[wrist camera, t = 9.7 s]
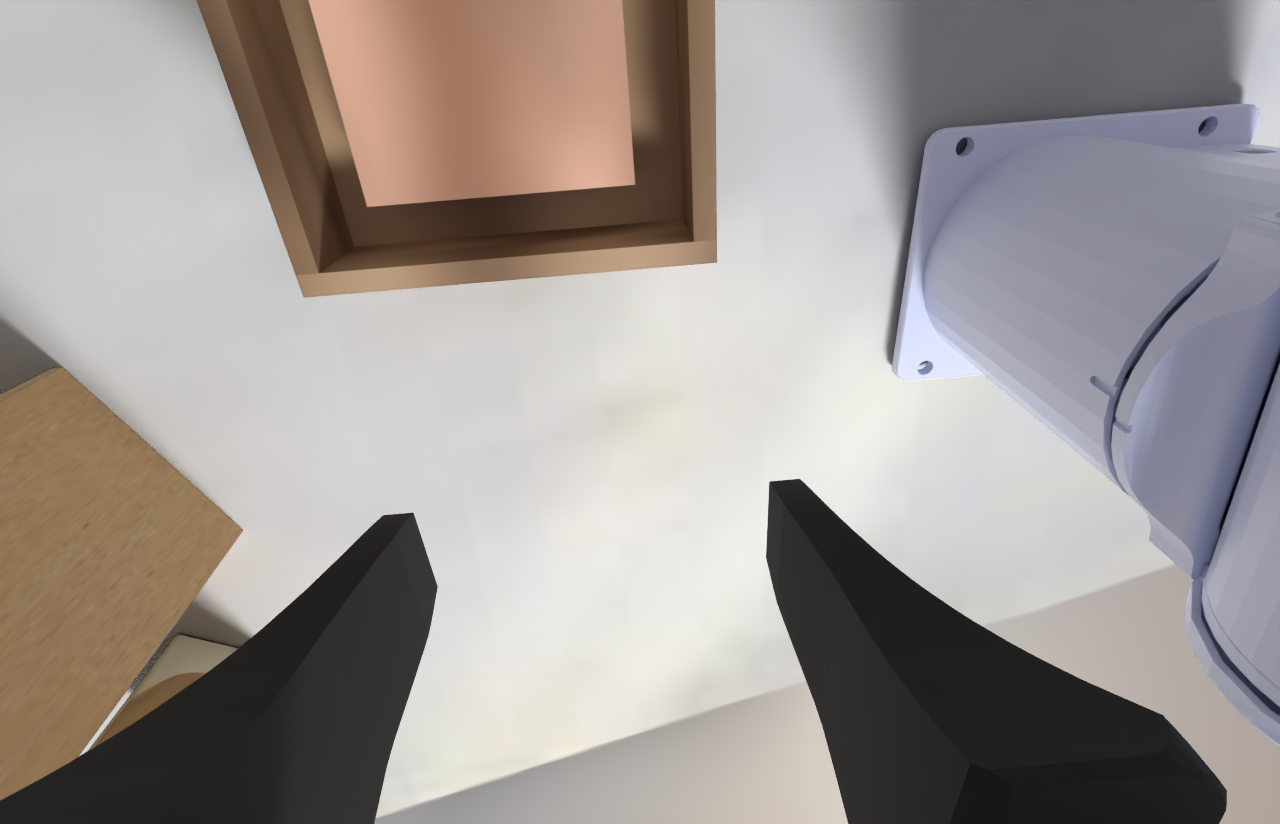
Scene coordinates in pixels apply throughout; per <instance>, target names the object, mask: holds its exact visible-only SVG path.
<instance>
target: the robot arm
mask: <svg viewBox="0 0 1280 824" xmlns="http://www.w3.org/2000/svg"><path fill="white" fill-rule="evenodd" d="M1259 117H1260V113H1259V109H1258V108H1257V107H1256V106H1255V105H1250V104H1228V105H1216V106H1204V107H1192V108H1180V109H1168V110H1156V111H1144V112H1132V113H1120V114H1108V115H1096V116H1084V117H1072V118H1060V119H1047V120H1035V121H1023V122H1011V123H999V124H987V125H975V126H963V127H951V128H943V129H940V130H937V131H936V132H935V133H933V134H932V135H931V136H930V138H929V139H928V140H927V143H926V146H925V149H924V156H923V163H922V169H921V176H920V183H919V190H918V196H917V203H916V210H915V216H914V223H913V230H912V236H911V243H910V250H909V256H908V263H907V270H906V276H905V283H904V290H903V297H902V303H901V310H900V317H899V323H898V330H897V337H896V343H895V350H894V357H893V363H892V371H893V372H894V374H895V375H896V376H897V377H898V379H900V380H902V381H919V380H930V379H942V378H953V377H965V376H977V375H985V376H986V377H987V378H989V379H990V380H991V381H992V382H993V383H995V384H996V385H997V386H998V387H999V388H1001V389H1002V390H1003V391H1004V392H1005V393H1007V394H1008V395H1009V396H1010V397H1011V398H1013V399H1014V400H1015V401H1016V402H1017V403H1019V404H1020V405H1021V406H1022V407H1023V408H1025V409H1026V410H1027V411H1028V412H1029V413H1031V414H1032V415H1033V416H1034V417H1035V418H1037V419H1038V420H1039V421H1040V422H1041V423H1043V424H1044V425H1045V426H1046V427H1047V428H1049V429H1050V430H1051V431H1052V432H1053V433H1055V434H1056V435H1057V436H1058V437H1059V438H1061V439H1062V440H1063V441H1064V442H1065V443H1067V444H1068V445H1069V446H1070V447H1071V448H1073V449H1074V450H1075V451H1076V452H1077V453H1079V454H1080V455H1081V456H1082V457H1083V458H1084V459H1086V460H1087V461H1088V462H1089V463H1090V464H1092V465H1093V466H1094V467H1095V468H1096V469H1098V470H1099V471H1100V472H1101V473H1102V474H1104V475H1105V476H1106V477H1107V478H1108V479H1110V480H1111V481H1112V482H1113V483H1114V484H1116V485H1117V486H1118V487H1119V488H1120V489H1122V490H1123V491H1124V492H1125V493H1127V494H1128V495H1129V496H1130V497H1131V498H1133V499H1134V500H1135V501H1136V502H1137V503H1138V504H1139V505H1140V506H1141V507H1142V508H1143V509H1144V511H1145V512H1146V513H1147V515H1148V517H1149V520H1150V525H1151V530H1150V537H1149V540H1150V542H1152V543H1153V544H1154V545H1155V546H1156V547H1157V548H1158V549H1159V550H1161V551H1162V552H1163V553H1164V554H1165V555H1166V556H1167V557H1168V558H1170V559H1171V560H1172V561H1173V562H1174V563H1175V564H1176V565H1177V566H1179V567H1180V568H1181V569H1182V570H1183V571H1184V572H1185V573H1187V574H1188V575H1189V576H1190V577H1191V578H1192V579H1195V580H1194V581H1193V582H1192V585H1191V588H1190V591H1189V594H1188V598H1187V603H1186V608H1185V620H1186V629H1187V635H1188V638H1189V641H1190V643H1191V646H1192V649H1193V652H1194V654H1195V656H1196V658H1197V660H1198V661H1199V663H1200V665H1201V666H1202V668H1203V670H1204V672H1205V673H1206V675H1207V677H1208V678H1209V679H1210V681H1211V682H1212V683H1213V684H1214V685H1215V687H1216V688H1217V689H1218V690H1219V691H1220V693H1221V694H1222V695H1223V697H1224V698H1225V699H1226V700H1227V701H1228V703H1229V704H1230V705H1231V706H1232V707H1234V708H1235V709H1236V710H1237V711H1238V712H1239V713H1240V714H1241V715H1242V716H1243V717H1244V718H1245V719H1246V720H1247V721H1248V722H1249V723H1250V724H1251V725H1252V726H1253V727H1254V728H1255V729H1257V730H1258V731H1259V732H1260V733H1262V734H1263V735H1264V736H1265V737H1267V738H1268V739H1269V740H1270V741H1272V742H1273V743H1274V744H1275V745H1277V746H1278V747H1279V748H1280V148H1276V147H1269V146H1261V145H1254V144H1250V142H1251V140H1252V137H1253V135H1254V132H1255V129H1256V127H1257V124H1258V122H1259ZM1205 119H1206V125H1205V126H1204V128H1203V130H1202V131H1201V132H1199V133H1198V130H1199V126H1200V124H1201V123H1202V122H1203V121H1204V120H1205ZM962 138H966V139H967V146H966V149H965V150H964V151H963V152H962V153H961V154H958V155H957V153H956V146H957V143H958V142H959V141H960V140H961V139H962ZM924 361H928V363H927V365H926V366H925V367H924V368H923V369H920V370H918V369H917V368H918V366H919V365H920V364H921V363H922V362H924ZM766 558H767V563H768V567H769V571H770V576H771V580H772V584H773V588H774V592H775V596H776V600H777V603H778V606H779V609H780V612H781V614H782V617H783V620H784V623H785V625H786V628H787V631H788V633H789V636H790V639H791V641H792V644H793V647H794V649H795V652H796V655H797V657H798V660H799V662H800V665H801V668H802V670H803V673H804V676H805V678H806V681H807V684H808V686H809V689H810V692H811V694H812V697H813V699H814V702H815V705H816V708H817V711H818V714H819V717H820V720H821V723H822V726H823V730H824V733H825V737H826V740H827V744H828V748H829V752H830V755H831V759H832V763H833V766H834V770H835V774H836V777H837V781H838V785H839V789H840V793H841V797H842V801H843V804H844V808H845V812H846V816H847V820H848V824H1219V822H1220V821H1221V819H1222V817H1223V815H1224V813H1225V811H1226V805H1227V790H1226V789H1225V788H1224V786H1223V785H1222V784H1221V782H1220V781H1219V779H1218V778H1217V777H1216V776H1215V774H1214V773H1213V772H1212V771H1211V770H1210V769H1209V767H1208V766H1207V765H1206V764H1205V762H1204V761H1203V760H1202V759H1201V758H1200V756H1199V755H1198V754H1197V753H1196V752H1195V750H1194V749H1193V748H1192V747H1191V746H1190V744H1189V743H1188V742H1187V741H1186V740H1185V739H1184V738H1183V737H1182V736H1181V734H1180V733H1179V732H1178V731H1177V730H1176V729H1175V728H1174V727H1173V726H1172V725H1171V724H1170V723H1169V721H1168V720H1166V719H1165V717H1164V716H1163V715H1161V714H1159V713H1156V712H1154V711H1152V710H1150V709H1147V708H1145V707H1143V706H1140V705H1138V704H1136V703H1134V702H1131V701H1129V700H1127V699H1124V698H1122V697H1120V696H1117V695H1115V694H1113V693H1111V692H1108V691H1106V690H1104V689H1101V688H1099V687H1097V686H1095V685H1092V684H1090V683H1088V682H1086V681H1084V680H1081V679H1079V678H1077V677H1075V676H1073V675H1071V674H1069V673H1067V672H1065V671H1063V670H1061V669H1059V668H1057V667H1055V666H1053V665H1051V664H1049V663H1047V662H1045V661H1043V660H1041V659H1039V658H1037V657H1035V656H1034V655H1032V654H1030V653H1028V652H1026V651H1024V650H1022V649H1021V648H1018V647H1017V646H1015V645H1013V644H1011V643H1010V642H1008V641H1006V640H1004V639H1003V638H1001V637H999V636H997V635H996V634H994V633H992V632H991V631H989V630H987V629H985V628H984V627H982V626H981V625H979V624H977V623H975V622H974V621H972V620H971V619H969V618H967V617H966V616H964V615H963V614H961V613H959V612H958V611H956V610H955V609H953V608H952V607H950V606H949V605H947V604H946V603H944V602H943V601H942V600H940V599H939V598H937V597H936V596H934V595H933V594H931V593H930V592H928V591H927V590H925V589H924V588H923V587H921V586H920V585H919V584H917V583H916V582H914V581H913V580H912V579H910V578H909V577H908V576H906V575H905V574H904V573H903V572H901V571H900V570H899V569H898V568H896V567H895V566H894V565H893V564H891V563H890V562H889V561H888V560H886V559H885V558H884V557H883V556H882V555H881V554H879V553H878V552H877V551H876V550H875V549H873V548H872V547H871V546H870V545H869V544H868V543H867V542H866V541H865V540H863V539H862V538H861V537H860V536H859V535H858V534H857V533H856V532H854V531H853V530H852V529H851V528H850V527H849V526H848V525H847V524H846V523H845V522H844V521H843V520H841V519H840V518H839V517H838V516H837V515H836V514H835V513H834V512H833V511H832V510H831V509H830V508H829V507H828V506H827V505H826V504H825V503H824V502H823V501H822V500H821V499H820V498H819V497H818V496H817V495H816V494H815V493H814V492H813V491H812V490H811V489H810V488H809V487H808V486H807V485H806V484H805V483H804V482H802V481H801V480H800V479H794V480H783V481H772V482H770V483H769V506H768V529H767V553H766ZM436 592H437V584H436V581H435V578H434V575H433V571H432V568H431V565H430V562H429V559H428V556H427V553H426V550H425V547H424V544H423V541H422V538H421V535H420V532H419V529H418V526H417V522H416V519H415V516H414V513H405V514H394V515H383V516H382V517H381V518H380V519H379V520H378V521H377V522H375V523H374V524H373V525H372V526H371V527H370V528H369V529H368V530H367V531H366V532H365V533H364V534H363V535H362V536H361V537H360V538H359V539H358V540H357V541H356V542H355V543H354V544H353V545H352V546H351V547H350V548H349V549H348V550H347V551H346V552H345V553H344V554H343V555H342V556H341V557H340V558H339V559H338V560H337V561H336V562H335V563H333V564H332V565H331V566H330V567H329V568H328V569H327V570H326V571H325V572H324V573H323V574H322V575H321V576H320V577H319V578H318V579H317V580H316V581H315V582H314V583H313V584H312V585H311V586H310V587H309V588H308V589H306V590H305V591H304V592H303V593H302V594H301V595H300V596H299V597H298V598H296V599H295V600H294V601H293V602H292V603H291V604H290V605H289V606H287V607H286V608H285V609H284V610H283V611H282V612H281V613H280V614H278V615H277V616H276V617H275V618H274V619H273V620H272V621H271V622H269V623H268V624H267V625H266V626H265V627H264V628H263V629H262V630H260V631H259V632H258V633H257V634H256V635H254V636H253V637H252V638H251V639H249V640H248V641H247V642H246V643H245V644H243V645H242V646H241V647H240V648H238V649H237V650H236V651H235V652H233V653H232V654H231V655H229V656H228V657H227V658H225V659H224V660H223V661H221V662H220V663H219V664H218V665H216V666H215V667H214V668H212V669H211V670H210V671H208V672H207V673H206V674H204V675H203V676H202V677H200V678H199V679H198V680H196V681H195V682H193V683H192V684H190V685H189V686H187V687H186V688H184V689H183V690H182V691H180V692H179V693H177V694H176V695H174V696H173V697H171V698H170V699H168V700H167V701H166V702H164V703H163V704H161V705H160V706H158V707H157V708H155V709H154V710H152V711H151V712H150V713H148V714H147V715H145V716H144V717H142V718H141V719H139V720H138V721H136V722H135V723H133V724H131V725H130V726H128V727H127V728H125V729H123V730H122V731H120V732H119V733H117V734H115V735H114V736H112V737H111V738H109V739H107V740H106V741H104V742H103V743H101V744H99V745H98V746H96V747H94V748H93V749H91V750H89V751H88V752H86V753H84V754H83V755H81V756H79V757H78V758H76V759H74V760H72V761H71V762H69V763H67V764H66V765H64V766H62V767H60V768H59V769H57V770H55V771H53V772H52V773H50V774H48V775H46V776H45V777H43V778H41V779H39V780H37V781H36V782H34V783H32V784H30V785H28V786H26V787H24V788H23V789H21V790H19V791H17V792H15V793H13V794H11V795H10V796H8V797H6V798H4V799H2V800H0V824H374V821H375V817H376V813H377V808H378V804H379V799H380V795H381V790H382V786H383V781H384V777H385V772H386V768H387V764H388V760H389V757H390V753H391V750H392V746H393V743H394V740H395V736H396V733H397V730H398V727H399V724H400V721H401V718H402V715H403V712H404V709H405V706H406V703H407V700H408V697H409V694H410V691H411V688H412V685H413V682H414V679H415V676H416V673H417V670H418V666H419V663H420V660H421V657H422V654H423V651H424V648H425V645H426V641H427V638H428V635H429V630H430V625H431V620H432V615H433V610H434V604H435V598H436Z"/></svg>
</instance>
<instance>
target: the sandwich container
mask: <svg viewBox="0 0 1280 824" xmlns="http://www.w3.org/2000/svg"><path fill="white" fill-rule="evenodd" d="M242 532H243V529H242V528H241V527H240V526H238V525H237V524H236V523H235V522H234V521H233V520H232V519H231V518H230V517H228V516H227V515H226V514H225V513H224V512H223V511H222V510H221V509H220V508H219V507H217V506H216V505H215V504H214V503H213V502H212V501H211V500H210V499H209V498H208V497H206V496H205V495H204V494H203V493H202V492H201V491H200V490H199V489H198V488H196V487H195V486H194V485H193V484H192V483H191V482H190V481H189V480H188V479H187V478H185V477H184V476H183V475H182V474H181V473H180V472H179V471H178V470H177V469H176V468H174V467H173V466H172V465H171V464H170V463H169V462H168V461H167V460H166V459H165V458H163V457H162V456H161V455H160V454H159V453H158V452H157V451H156V450H155V449H153V448H152V447H151V446H150V445H149V444H148V443H147V442H146V441H145V440H144V439H142V438H141V437H140V436H139V435H138V434H137V433H136V432H135V431H133V430H132V429H131V428H130V427H129V426H128V425H127V424H126V423H125V422H123V421H122V420H121V419H120V418H119V417H118V416H117V415H116V414H115V413H113V412H112V411H111V410H110V409H109V408H108V407H107V406H106V405H105V404H103V403H102V402H101V401H100V400H99V399H98V398H97V397H96V396H95V395H93V394H92V393H91V392H90V391H89V390H88V389H87V388H86V387H85V386H83V385H82V384H81V383H80V382H79V381H78V380H77V379H76V378H75V377H73V376H72V375H71V374H70V373H69V372H68V371H67V370H66V369H65V368H63V367H54V368H52V369H50V370H48V371H46V372H44V373H42V374H40V375H38V376H36V377H34V378H32V379H30V380H28V381H26V382H24V383H22V384H20V385H18V386H16V387H14V388H12V389H10V390H8V391H6V392H4V393H2V394H0V800H2V799H4V798H6V797H8V796H10V795H11V794H13V793H15V792H17V791H19V790H21V789H23V788H24V787H26V786H28V785H30V784H32V783H34V782H36V781H37V780H39V779H41V778H43V777H45V776H46V775H48V774H50V773H52V772H53V771H55V770H57V769H59V768H60V767H62V766H64V765H66V764H67V763H69V762H71V761H72V760H74V759H76V758H78V756H79V755H80V754H81V752H82V751H83V750H84V748H85V747H86V745H87V744H88V743H89V741H90V740H91V739H92V737H93V736H94V735H95V733H96V732H97V731H98V729H99V728H100V726H101V725H102V724H103V722H104V721H105V720H106V718H107V717H108V716H109V714H110V713H111V711H112V710H113V709H114V707H115V706H116V705H117V703H118V702H119V701H120V699H121V698H122V697H123V695H124V694H125V692H126V691H127V690H128V688H129V687H130V686H131V684H132V683H133V682H134V680H135V679H136V677H137V676H138V675H139V673H140V672H141V671H142V669H143V668H144V667H145V665H146V664H147V663H148V661H149V660H150V658H151V657H152V656H153V654H154V653H155V652H156V650H157V649H158V648H159V646H160V645H161V644H162V642H163V641H164V639H165V638H166V637H167V635H168V634H169V633H170V631H171V630H172V629H173V627H174V626H175V624H176V623H177V622H178V620H179V619H180V618H181V616H182V615H183V614H184V612H185V611H186V609H187V608H188V607H189V605H190V604H191V603H192V601H193V600H194V598H195V597H196V596H197V594H198V593H199V591H200V590H201V589H202V587H203V586H204V584H205V583H206V582H207V580H208V579H209V578H210V576H211V575H212V573H213V572H214V571H215V569H216V568H217V566H218V565H219V564H220V562H221V561H222V560H223V558H224V557H225V555H226V554H227V553H228V551H229V550H230V548H231V547H232V546H233V544H234V543H235V542H236V540H237V539H238V537H239V536H240V535H241V533H242Z"/></svg>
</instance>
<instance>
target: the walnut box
mask: <svg viewBox="0 0 1280 824" xmlns="http://www.w3.org/2000/svg"><path fill="white" fill-rule="evenodd" d="M197 2H198V5H199V8H200V11H201V13H202V16H203V19H204V22H205V24H206V27H207V30H208V33H209V36H210V38H211V41H212V44H213V47H214V49H215V52H216V55H217V58H218V61H219V63H220V66H221V69H222V72H223V74H224V77H225V80H226V83H227V86H228V88H229V91H230V94H231V97H232V99H233V102H234V105H235V108H236V111H237V113H238V116H239V119H240V122H241V124H242V127H243V130H244V133H245V136H246V138H247V141H248V144H249V147H250V149H251V152H252V155H253V158H254V160H255V163H256V166H257V169H258V172H259V174H260V177H261V180H262V183H263V185H264V188H265V191H266V194H267V197H268V199H269V202H270V205H271V208H272V210H273V213H274V216H275V219H276V222H277V224H278V227H279V230H280V233H281V235H282V238H283V241H284V244H285V247H286V249H287V252H288V255H289V258H290V260H291V263H292V266H293V269H294V272H295V274H296V277H297V280H298V283H299V285H300V288H301V291H302V294H303V297H315V296H326V295H338V294H350V293H362V292H374V291H386V290H397V289H409V288H421V287H433V286H445V285H457V284H468V283H480V282H492V281H504V280H516V279H528V278H539V277H551V276H563V275H575V274H587V273H598V272H610V271H622V270H634V269H646V268H658V267H669V266H681V265H693V264H705V263H717V214H716V91H715V0H197Z"/></svg>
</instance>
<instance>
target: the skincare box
mask: <svg viewBox="0 0 1280 824" xmlns="http://www.w3.org/2000/svg"><path fill="white" fill-rule="evenodd" d="M237 649H238V648H234V647H230V646H226V645H222V644H218V643H213V642H209V641H205V640H200V639H197V638H192V637H188V636H184V635H177V636H175V637H174V639H173V640H172V641H171V642H170V644H169V645H168V646H167V648H166V649H165V650H164V652H163V653H162V654H161V655H160V657H159V658H158V659H157V661H156V662H155V663H154V665H153V666H152V667H151V669H150V670H149V671H148V673H147V674H146V675H145V677H144V678H143V679H142V681H141V682H140V683H139V685H138V686H137V687H136V689H135V690H134V691H133V693H132V694H131V695H130V696H129V698H128V699H127V700H126V702H125V703H124V704H123V706H122V707H121V708H120V709H119V711H118V712H117V713H116V715H115V716H114V717H113V719H112V720H111V721H110V723H109V724H108V725H107V727H106V728H105V729H104V731H103V732H102V733H101V734H100V736H99V737H98V738H97V740H96V741H95V742H94V744H93V745H92V746H91V748H90V749H89V750H91V749H93V748H94V747H96V746H98V745H99V744H101V743H103V742H104V741H106V740H107V739H109V738H111V737H112V736H114V735H115V734H117V733H119V732H120V731H122V730H123V729H125V728H127V727H128V726H130V725H131V724H133V723H135V722H136V721H138V720H139V719H141V718H142V717H144V716H145V715H147V714H148V713H150V712H151V711H152V710H154V709H155V708H157V707H158V706H160V705H161V704H163V703H164V702H166V701H167V700H168V699H170V698H171V697H173V696H174V695H176V694H177V693H179V692H180V691H182V690H183V689H184V688H186V687H187V686H189V685H190V684H192V683H193V682H195V681H196V680H198V679H199V678H200V677H202V676H203V675H204V674H206V673H207V672H208V671H210V670H211V669H212V668H214V667H215V666H216V665H218V664H219V663H220V662H221V661H223V660H224V659H225V658H227V657H228V656H229V655H231V654H232V653H233V652H235V651H236V650H237ZM89 750H88V751H89ZM88 751H87V752H88Z"/></svg>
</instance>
